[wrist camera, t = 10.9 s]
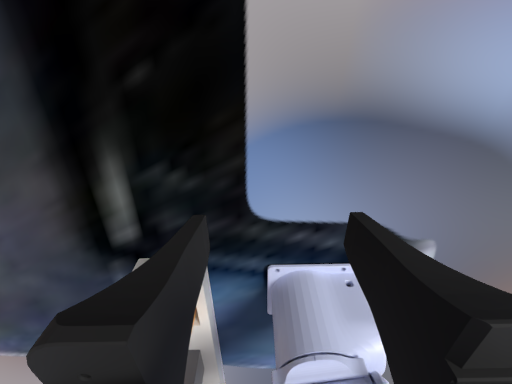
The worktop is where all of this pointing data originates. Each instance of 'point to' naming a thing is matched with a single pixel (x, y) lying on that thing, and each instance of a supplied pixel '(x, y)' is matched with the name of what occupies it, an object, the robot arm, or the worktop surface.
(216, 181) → the worktop surface
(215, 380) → the pdu strip
